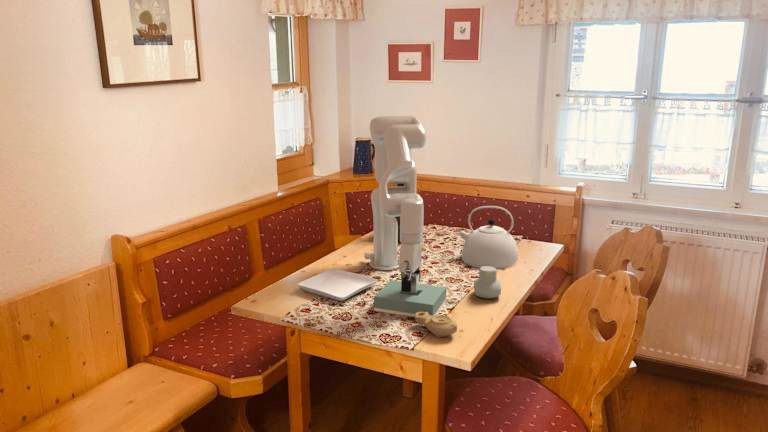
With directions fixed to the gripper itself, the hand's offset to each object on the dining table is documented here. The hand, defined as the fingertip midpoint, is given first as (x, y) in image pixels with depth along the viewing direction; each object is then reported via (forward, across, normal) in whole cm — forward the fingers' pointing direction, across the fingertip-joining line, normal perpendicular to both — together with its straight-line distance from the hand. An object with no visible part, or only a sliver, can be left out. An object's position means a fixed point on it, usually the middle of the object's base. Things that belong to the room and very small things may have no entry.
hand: (410, 286), depth 207 cm
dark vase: (+7, -72, -28) cm, 78 cm away
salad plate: (+8, -5, -29) cm, 30 cm away
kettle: (+7, -57, +14) cm, 59 cm away
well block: (+7, 0, 0) cm, 7 cm away
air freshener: (+7, -18, +22) cm, 29 cm away
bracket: (+6, 0, 0) cm, 6 cm away
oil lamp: (+7, +16, +13) cm, 22 cm away
